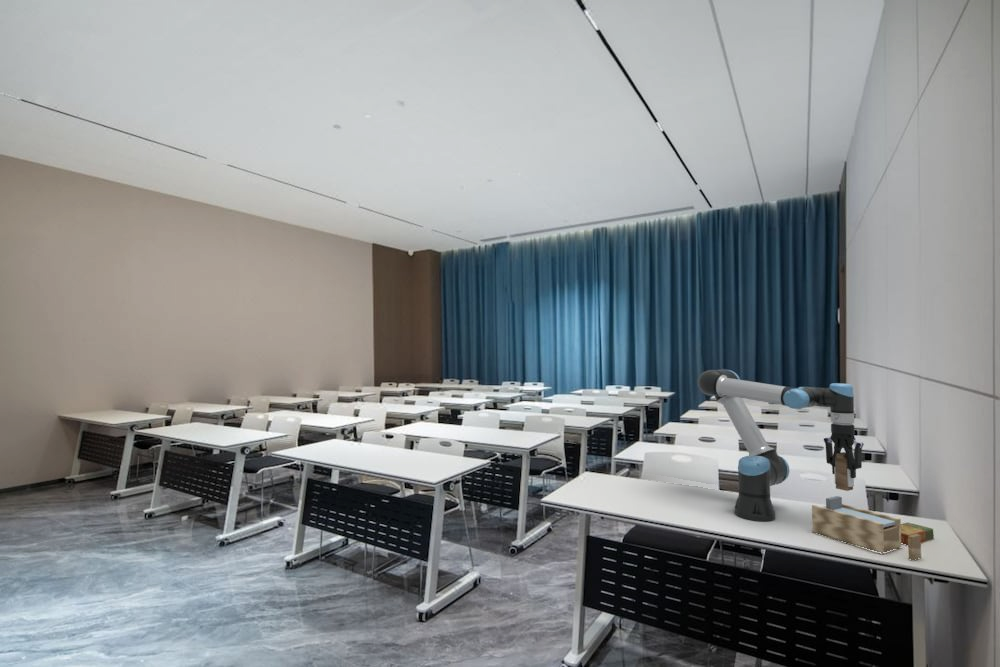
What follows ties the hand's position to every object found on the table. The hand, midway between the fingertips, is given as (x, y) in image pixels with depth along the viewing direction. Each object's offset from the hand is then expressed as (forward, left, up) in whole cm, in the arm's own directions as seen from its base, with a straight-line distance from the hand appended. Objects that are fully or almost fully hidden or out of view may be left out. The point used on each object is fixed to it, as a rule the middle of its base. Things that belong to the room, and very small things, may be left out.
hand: (844, 484), depth 193 cm
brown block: (0, 0, -2) cm, 2 cm away
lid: (+9, -10, -8) cm, 16 cm away
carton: (+17, +9, -17) cm, 26 cm away
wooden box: (+12, -10, -16) cm, 23 cm away
